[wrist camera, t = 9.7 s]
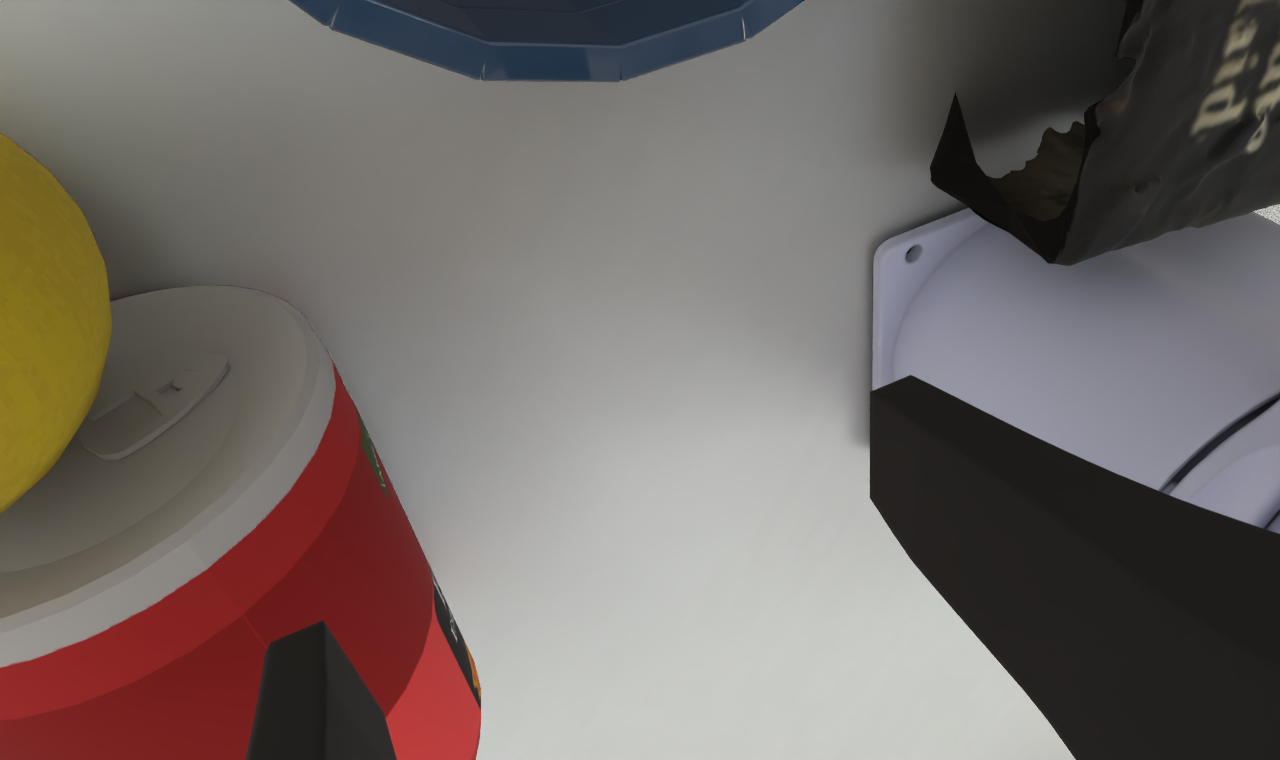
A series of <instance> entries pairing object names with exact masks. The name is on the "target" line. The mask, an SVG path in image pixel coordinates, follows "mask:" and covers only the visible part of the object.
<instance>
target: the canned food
mask: <svg viewBox="0 0 1280 760" xmlns="http://www.w3.org/2000/svg"><path fill="white" fill-rule="evenodd" d="M110 305H111V315H112V333H111V338H110V344H109V348H108V352H107V357H106V361H105V366H104V370H103V374H102V379H101V383H100V386H99V389H98V392H97V395H96V398H95V400H94V402H93V404H92V406H91V408H90V410H89V412H88V414H87V415H86V417H85V419H84V420H83V422H82V423H81V425H80V427H79V428H78V430H77V431H76V433H75V434H74V436H73V438H72V439H71V441H70V442H69V444H68V446H67V447H66V449H65V450H64V452H63V453H62V455H61V457H60V458H59V460H58V461H57V462H56V463H55V465H54V466H53V467H52V468H51V470H50V471H49V472H48V473H47V474H46V475H45V476H44V477H43V478H42V479H40V480H39V481H38V482H37V483H36V484H35V485H34V486H33V487H31V488H30V489H29V490H28V491H27V492H26V493H25V494H24V495H22V496H21V497H20V498H19V499H18V500H17V501H16V502H15V503H13V504H12V505H11V506H10V507H9V508H8V509H7V510H6V511H4V512H3V513H1V514H0V760H245V759H246V754H247V749H248V745H249V740H250V735H251V730H252V725H253V720H254V715H255V710H256V704H257V699H258V693H259V687H260V682H261V676H262V669H263V663H264V656H265V651H266V650H267V648H268V646H269V644H270V643H271V642H272V641H275V640H277V639H280V638H282V637H284V636H287V635H289V634H292V633H294V632H296V631H299V630H301V629H304V628H306V627H308V626H311V625H313V624H316V623H318V622H320V621H324V622H325V624H326V625H327V627H328V628H329V630H330V631H331V633H332V634H333V636H334V637H335V639H336V640H337V642H338V644H339V645H340V647H341V648H342V650H343V651H344V653H345V654H346V656H347V657H348V659H349V660H350V662H351V663H352V665H353V666H354V668H355V670H356V671H357V673H358V674H359V676H360V677H361V679H362V680H363V682H364V683H365V685H366V686H367V688H368V689H369V691H370V692H371V694H372V695H373V697H374V699H375V700H376V702H377V703H378V705H379V706H380V708H381V709H382V711H383V712H384V715H385V719H386V722H387V726H388V729H389V733H390V737H391V740H392V744H393V747H394V751H395V754H396V758H397V760H476V755H477V750H478V745H479V739H480V727H481V688H480V683H479V679H478V675H477V671H476V667H475V663H474V660H473V658H472V656H471V654H470V652H469V650H468V648H467V645H466V643H465V641H464V639H463V637H462V635H461V632H460V630H459V628H458V626H457V624H456V622H455V620H454V617H453V615H452V613H451V611H450V609H449V607H448V604H447V602H446V600H445V598H444V596H443V594H442V592H441V589H440V587H439V585H438V583H437V581H436V579H435V576H434V574H433V572H432V570H431V568H430V566H429V564H428V561H427V559H426V557H425V555H424V553H423V551H422V548H421V546H420V544H419V542H418V540H417V538H416V536H415V533H414V531H413V529H412V527H411V525H410V523H409V520H408V518H407V516H406V514H405V512H404V510H403V508H402V505H401V503H400V501H399V499H398V497H397V495H396V492H395V490H394V488H393V486H392V484H391V482H390V480H389V477H388V475H387V473H386V471H385V469H384V467H383V464H382V462H381V460H380V458H379V456H378V454H377V452H376V449H375V447H374V445H373V443H372V441H371V439H370V436H369V434H368V432H367V430H366V428H365V426H364V424H363V421H362V419H361V417H360V415H359V413H358V411H357V408H356V406H355V404H354V403H353V401H352V399H351V397H350V396H349V394H348V392H347V390H346V388H345V386H344V384H343V382H342V380H341V378H340V376H339V373H338V371H337V369H336V367H335V365H334V363H333V361H332V359H331V357H330V355H329V354H328V352H327V350H326V348H325V347H324V345H323V343H322V341H321V340H320V338H319V337H318V336H317V335H316V334H315V333H314V331H313V329H312V328H311V326H310V324H309V322H308V321H307V319H306V317H305V316H304V315H303V314H302V313H300V312H299V311H298V310H297V309H296V308H294V307H293V306H292V305H291V304H289V303H288V302H287V301H285V300H283V299H280V298H278V297H275V296H273V295H271V294H268V293H266V292H263V291H260V290H254V289H248V288H243V287H237V286H220V285H196V286H187V287H179V288H170V289H162V290H156V291H152V292H147V293H143V294H138V295H134V296H130V297H125V298H121V299H117V300H114V301H111V302H110Z"/></svg>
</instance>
